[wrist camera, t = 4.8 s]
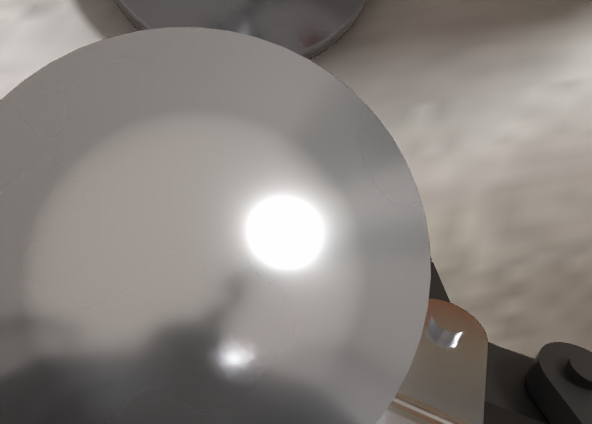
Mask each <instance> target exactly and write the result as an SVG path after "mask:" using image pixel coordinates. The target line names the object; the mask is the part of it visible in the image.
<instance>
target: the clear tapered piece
mask: <svg viewBox="0 0 592 424" xmlns="http://www.w3.org/2000/svg"><path fill="white" fill-rule="evenodd" d="M430 280H431V266H430V243H429V237H428V230H427V224H426V217H425V214H424V210H423V206H422V203H421V199H420V196H419V192H418V189H417V186H416V184H415V182H414V179H413V177H412V175H411V172H410V170H409V167H408V165H407V163H406V161H405V159H404V157H403V155H402V154H401V152H400V150H399V148H398V147H397V145H396V143H395V141H394V140H393V138H392V136H391V135H390V134H389V132H388V131H387V130H386V128H385V127H384V126H383V124H382V123H381V122H380V120H379V119H378V118H377V116H376V115H375V114H374V113H373V112H372V111H371V109H370V108H369V107H368V106H367V105H366V104H365V103H364V102H363V101H362V100H361V99H360V98H359V97H358V96H357V95H356V94H355V93H354V92H353V91H352V90H351V89H349V88H348V87H347V86H346V85H344V84H343V83H342V82H341V81H340V80H338V79H337V78H336V77H335V76H334V75H332V74H331V73H329V72H328V71H326V70H324V69H323V68H321V67H320V66H318V65H317V64H315V63H314V62H312V61H311V60H309V59H307V58H305V57H303V56H301V55H299V54H297V53H295V52H293V51H291V50H289V49H287V48H285V47H282V46H279V45H277V44H274V43H271V42H268V41H265V40H263V39H260V38H257V37H253V36H249V35H245V34H240V33H236V32H232V31H227V30H218V29H209V28H200V27H167V28H158V29H150V30H141V31H135V32H131V33H127V34H123V35H119V36H114V37H110V38H107V39H104V40H101V41H98V42H96V43H93V44H90V45H87V46H85V47H82V48H79V49H77V50H75V51H73V52H71V53H69V54H67V55H65V56H63V57H61V58H59V59H57V60H55V61H53V62H51V63H49V64H48V65H46V66H45V67H43V68H42V69H40V70H39V71H37V72H36V73H34V74H33V75H31V76H30V77H28V78H27V79H25V80H24V81H23V82H21V83H20V84H19V85H18V86H17V87H16V88H14V89H13V90H12V91H11V92H10V93H9V94H7V95H6V96H5V97H4V98H3V99H1V100H0V424H377V422H378V421H379V419H380V418H381V417H382V415H383V414H384V412H385V411H386V409H387V408H388V407H389V405H390V404H391V402H392V401H393V399H394V398H395V396H396V394H397V392H398V390H399V388H400V386H401V384H402V382H403V381H404V379H405V377H406V375H407V373H408V371H409V369H410V366H411V364H412V361H413V358H414V355H415V353H416V350H417V347H418V345H419V342H420V339H421V335H422V331H423V326H424V322H425V318H426V313H427V309H428V300H429V290H430Z"/></svg>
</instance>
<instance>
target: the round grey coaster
mask: <svg viewBox="0 0 592 424" xmlns="http://www.w3.org/2000/svg"><path fill="white" fill-rule="evenodd" d="M115 2H116V3H117V5H118V6H119V8H120V9H121V10H122V12H123V13H124V15H125V16H126V17H127V18H128V19H129V20H130V21H131V23H132V24H133V25H134V26H135V27H136V28H137V29H138V30H139V31H141V30H150V29H158V28H167V27H200V28H209V29H218V30H227V31H232V32H236V33H240V34H245V35H249V36H253V37H257V38H260V39H263V40H265V41H268V42H271V43H274V44H277V45H279V46H282V47H285V48H287V49H289V50H291V51H293V52H295V53H297V54H299V55H301V56H303V57H305V58H307V59H311V58H313V57H315V56H316V55H318V54H320V53H322V52H323V51H325V50H327V49H328V48H329V47H330V46H332V45H333V44H334V43H335V42H337V41H338V40H339V39H340V38H341V37H342V36H343V35H344V34H345V33H346V32H347V31H348V30H349V29H350V27H351V26H352V24H353V23H354V22H355V20H356V19H357V17H358V16H359V14H360V12H361V10H362V8H363V6H364V4H365V2H366V0H115Z"/></svg>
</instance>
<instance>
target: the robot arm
mask: <svg viewBox="0 0 592 424" xmlns="http://www.w3.org/2000/svg"><path fill="white" fill-rule="evenodd" d="M430 266H431V280H430V290H429V300H428V309H427V313H426V318H425V322H424V326H423V331H422V335H421V339H420V342H419V345H418V347H417V350H416V353H415V355H414V358H413V361H412V364H411V366H410V369H409V371H408V373H407V375H406V377H405V379H404V381H403V382H402V384H401V386H400V388H399V390H398V392H397V394H396V396H395V398H394V399H393V401H392V402H391V404H390V405H389V407H388V408H387V409H386V411H385V412H384V414H383V415H382V417H381V418H380V419H379V421H378V422H377V424H592V352H590V351H588V350H586V349H584V348H581V347H579V346H576V345H572V344H569V343H563V342H554V343H549V344H546V345H545V346H544V347H542V349H541V350H540V352H539V353H538V355H537V356H536V358H535V359H533V358H530V357H527V356H524V355H521V354H519V353H516V352H513V351H510V350H507V349H504V348H501V347H499V346H496V345H494V344H491V343H489V342H488V338H487V335H486V332H485V331H484V329H483V327H482V326H481V324H480V323H479V322H478V321H477V320H476V319H475V318H474V317H473V316H472V315H471V314H470V313H468V312H467V311H465V310H464V309H462V308H460V307H458V306H457V305H454V304H452V303H450V301H449V299H448V296H447V294H446V292H445V289H444V287H443V285H442V282H441V280H440V278H439V275H438V273H437V271H436V268H435V266H434V264H433V262H431V257H430Z"/></svg>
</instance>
